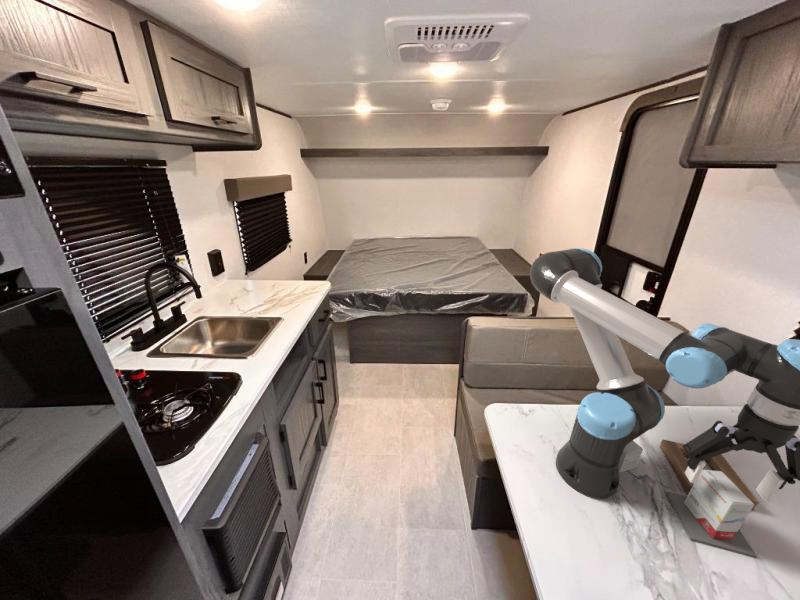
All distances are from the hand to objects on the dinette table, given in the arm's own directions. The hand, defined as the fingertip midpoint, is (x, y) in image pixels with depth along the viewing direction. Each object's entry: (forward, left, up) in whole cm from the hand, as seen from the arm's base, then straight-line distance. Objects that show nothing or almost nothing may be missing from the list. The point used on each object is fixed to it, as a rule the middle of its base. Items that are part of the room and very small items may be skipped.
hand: (724, 486), depth 72 cm
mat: (0, 0, -12) cm, 12 cm away
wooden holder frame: (+6, +15, -12) cm, 20 cm away
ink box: (0, 0, -11) cm, 11 cm away
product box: (-15, +13, -12) cm, 23 cm away
